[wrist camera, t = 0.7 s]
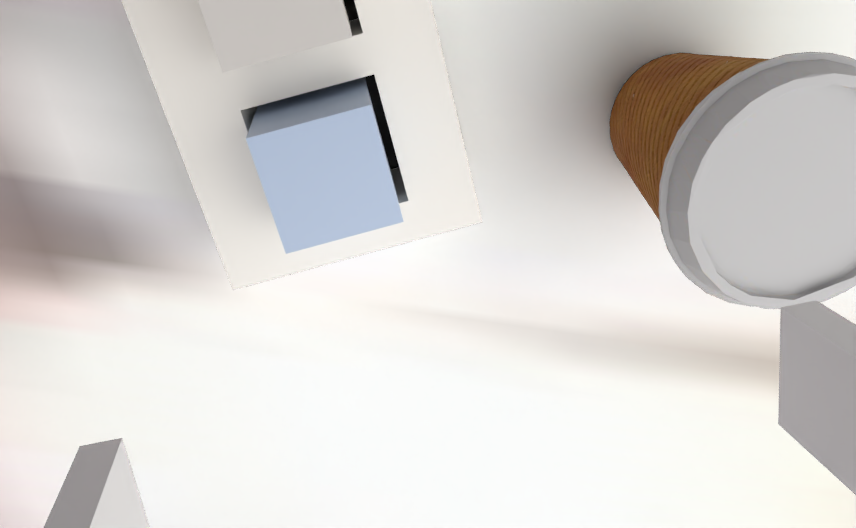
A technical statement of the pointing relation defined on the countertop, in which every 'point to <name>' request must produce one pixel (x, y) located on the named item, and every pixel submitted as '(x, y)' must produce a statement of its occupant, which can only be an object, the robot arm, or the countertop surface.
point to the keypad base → (293, 75)
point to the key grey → (271, 28)
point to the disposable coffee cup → (748, 170)
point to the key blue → (323, 165)
